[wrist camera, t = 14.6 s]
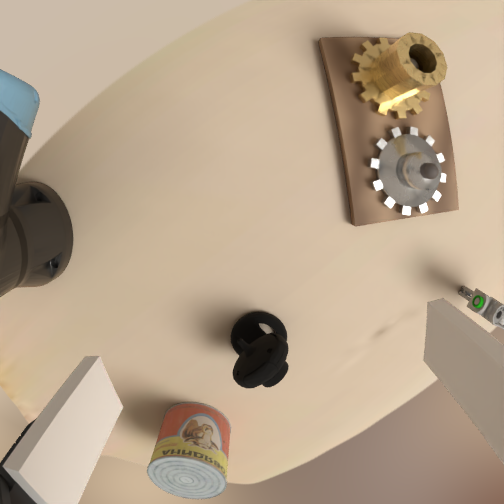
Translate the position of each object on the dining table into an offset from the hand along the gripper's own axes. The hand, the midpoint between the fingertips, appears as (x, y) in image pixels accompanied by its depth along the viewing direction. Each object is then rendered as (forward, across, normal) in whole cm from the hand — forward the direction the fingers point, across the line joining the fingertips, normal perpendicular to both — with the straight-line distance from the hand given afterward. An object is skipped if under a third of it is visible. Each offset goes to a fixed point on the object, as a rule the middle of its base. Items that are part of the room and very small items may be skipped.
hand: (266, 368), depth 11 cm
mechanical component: (+29, -30, +14) cm, 44 cm away
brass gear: (+27, -20, -17) cm, 38 cm away
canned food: (+29, +15, +30) cm, 44 cm away
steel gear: (+27, -20, -5) cm, 34 cm away
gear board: (+29, -20, -11) cm, 37 cm away
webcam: (+29, +2, +14) cm, 32 cm away
